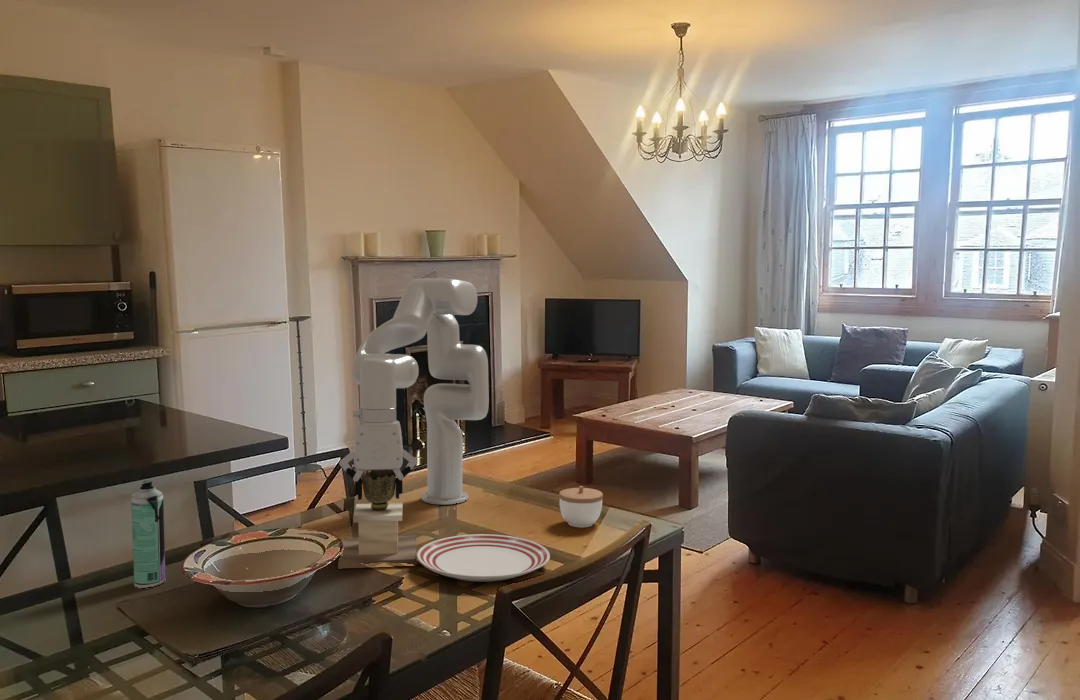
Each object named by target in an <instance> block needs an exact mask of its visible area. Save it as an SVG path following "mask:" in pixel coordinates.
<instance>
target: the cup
mask: <svg viewBox="0 0 1080 700" xmlns="http://www.w3.org/2000/svg"><path fill="white" fill-rule="evenodd" d="M396 478H397V476H396V474H395V472H394V471H393V470H384V472H381V471H380V470H375V471H370V472H369V471H363V473H362V475H361V479H362V492H363V494H364V495H363V496H364V498H365V499H366V500H367V501H368V502H369V503H370V504H371V508H372V509H373V510H377V511H380V510H385V509H387V507H388V503H389V502H390V501H391V500H392V499H393V497H394V495H395V493H396Z"/></svg>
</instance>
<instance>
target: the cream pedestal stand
mask: <svg viewBox="0 0 1080 700" xmlns="http://www.w3.org/2000/svg"><path fill="white" fill-rule="evenodd" d="M403 503H404V502H388V507H387V509H385V510H380V511H377V510H373V509H372V508H371V503H357V504H356V505H355V509H354V513H353V516H352V520H353V521H352V523H353V524H354V523H358V537H344V538H343V539H342V543H344V550H343V558H346V559H348V560H351V561H352V562H357V563H363V564H370V563H378V562H388V563H389V562H390V563H407V564H413V565H417V566H418V558H417V553H418V550H417V547H418V546H417V535H413V534H412V535H399V522H403V512H404V511H403V509H404V508H403V505H404V504H403Z"/></svg>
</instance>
